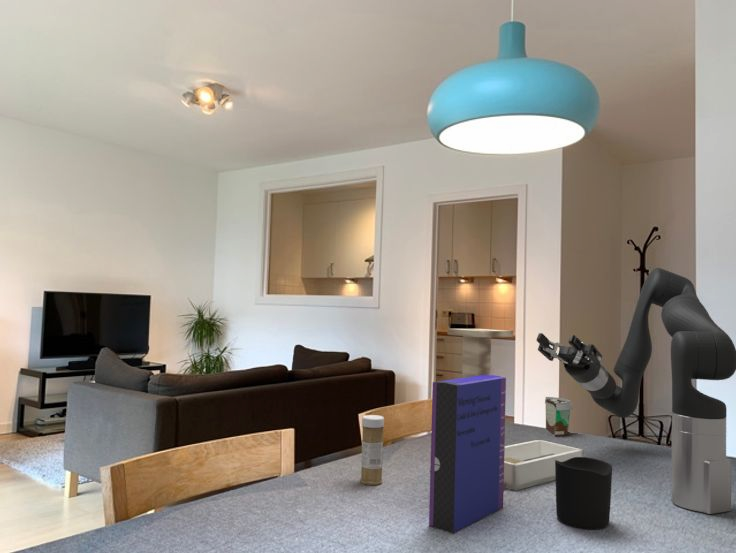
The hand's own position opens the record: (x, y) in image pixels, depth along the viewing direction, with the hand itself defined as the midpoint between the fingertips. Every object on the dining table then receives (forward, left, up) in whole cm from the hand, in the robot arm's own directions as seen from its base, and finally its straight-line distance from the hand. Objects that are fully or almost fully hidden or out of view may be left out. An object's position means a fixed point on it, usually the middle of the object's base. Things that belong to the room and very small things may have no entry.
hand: (554, 337), depth 140 cm
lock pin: (-3, +7, -29) cm, 30 cm away
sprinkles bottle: (+3, +45, -30) cm, 54 cm away
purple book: (-21, +37, -30) cm, 52 cm away
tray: (-2, +9, -30) cm, 32 cm away
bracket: (-7, +26, -30) cm, 40 cm away
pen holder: (-29, +19, -30) cm, 46 cm away
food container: (+30, -29, -30) cm, 51 cm away
